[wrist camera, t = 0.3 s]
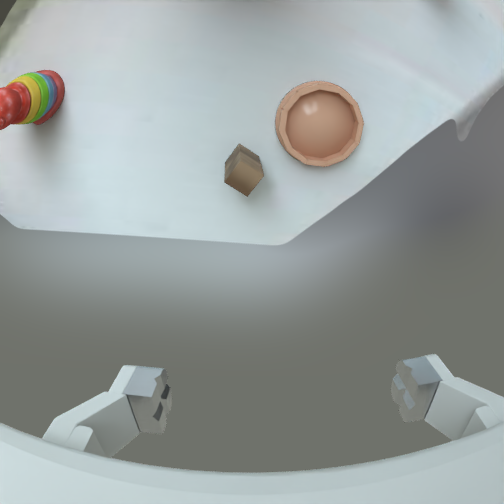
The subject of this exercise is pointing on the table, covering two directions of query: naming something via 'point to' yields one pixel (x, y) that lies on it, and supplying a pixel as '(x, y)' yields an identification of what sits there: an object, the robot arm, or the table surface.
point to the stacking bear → (31, 98)
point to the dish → (319, 123)
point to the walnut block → (243, 170)
